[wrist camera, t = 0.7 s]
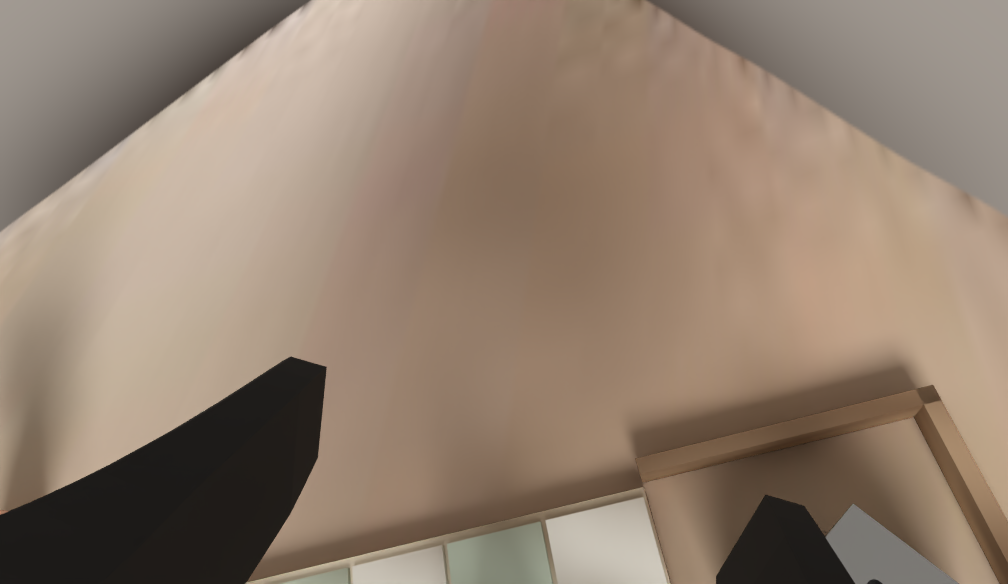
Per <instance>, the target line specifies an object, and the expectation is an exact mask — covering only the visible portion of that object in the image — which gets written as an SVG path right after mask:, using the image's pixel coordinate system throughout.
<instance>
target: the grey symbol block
mask: <svg viewBox="0 0 1008 584" xmlns="http://www.w3.org/2000/svg"><path fill="white" fill-rule="evenodd" d="M825 538H826V539H827V541H828V542H829V544H830V545H831V547H832V548H833V550H834V552H835V553H836V555H837V556H838V558H839V559H840V561H841V562H842V564H843V565H844V567H845V568H846V570H847V571H848V573H849V575H850V576H851V578H852V579H853V581H854V582H855V584H959V583H957V582H956V581H955V580H953V579H952V578H951V577H949V576H948V575H947V574H946V573H944V572H943V571H942V570H940V569H939V568H938V567H936V566H935V565H934V564H932V563H931V562H930V561H928V560H927V559H926V558H924V557H923V556H922V555H920V554H919V553H918V552H916V551H915V550H914V549H913V548H911V547H910V546H909V545H907V544H906V543H905V542H903V541H902V540H901V539H899V538H898V537H897V536H895V535H894V534H893V533H891V532H890V531H889V530H887V529H886V528H885V527H883V526H882V525H881V524H880V523H878V522H877V521H876V520H874V519H873V518H872V517H870V516H869V515H868V514H866V513H865V512H864V511H862V510H861V509H860V508H858V507H857V506H856V505H854V504H852V505H851V507H850V508H849V509H848V510H847V511H846V512H845V514H844V515H843V516H842V517H841V518H840V519H839V520H838V522H837V523H836V524H835V525H834V526H833V527H832V529H831V530H830V531H829V532H828V533H827V535H826V536H825Z"/></svg>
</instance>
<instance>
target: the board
mask: <svg viewBox="0 0 1008 584" xmlns="http://www.w3.org/2000/svg"><path fill="white" fill-rule="evenodd" d="M912 417H914V418H915V420H916V422H917V424H918V426H919V428H920V430H921V432H922V434H923V435H924V437H925V439H926V441H927V443H928V445H929V447H930V449H931V451H932V453H933V455H934V457H935V459H936V461H937V463H938V465H939V466H940V468H941V470H942V472H943V474H944V476H945V478H946V480H947V482H948V484H949V486H950V488H951V490H952V492H953V494H954V496H955V497H956V499H957V501H958V503H959V505H960V507H961V509H962V511H963V513H964V515H965V517H966V519H967V521H968V523H969V525H970V527H971V528H972V530H973V532H974V534H975V536H976V538H977V540H978V542H979V544H980V546H981V548H982V550H983V552H984V554H985V556H986V557H987V559H988V561H989V563H990V565H991V567H992V569H993V571H994V573H995V575H996V577H997V579H998V581H999V583H1000V584H1008V521H1007V519H1006V517H1005V516H1004V514H1003V512H1002V510H1001V508H1000V506H999V505H998V503H997V501H996V499H995V497H994V495H993V494H992V492H991V490H990V488H989V486H988V484H987V483H986V481H985V479H984V477H983V475H982V473H981V472H980V470H979V468H978V466H977V464H976V462H975V461H974V459H973V457H972V455H971V453H970V452H969V450H968V448H967V446H966V444H965V442H964V441H963V439H962V437H961V435H960V433H959V431H958V430H957V428H956V426H955V424H954V422H953V420H952V419H951V417H950V415H949V413H948V411H947V409H946V408H945V406H944V404H943V402H942V400H941V398H940V397H939V395H938V393H937V391H936V389H935V387H934V386H933V385H931V386H926V387H922V388H918V389H914V390H910V391H906V392H902V393H898V394H894V395H890V396H886V397H882V398H878V399H874V400H870V401H866V402H862V403H858V404H854V405H850V406H846V407H842V408H838V409H834V410H829V411H825V412H821V413H817V414H813V415H809V416H805V417H801V418H797V419H793V420H789V421H785V422H781V423H777V424H773V425H769V426H765V427H761V428H757V429H753V430H749V431H745V432H741V433H737V434H732V435H728V436H724V437H720V438H716V439H712V440H708V441H704V442H700V443H696V444H692V445H688V446H684V447H680V448H676V449H672V450H668V451H664V452H660V453H656V454H652V455H648V456H644V457H640V458H635V459H636V463H637V467H638V470H639V474H640V476H641V479H642V482H647V481H651V480H655V479H660V478H664V477H668V476H672V475H676V474H680V473H684V472H689V471H693V470H697V469H701V468H705V467H709V466H713V465H717V464H722V463H726V462H730V461H734V460H738V459H742V458H746V457H751V456H755V455H759V454H763V453H767V452H771V451H775V450H779V449H784V448H788V447H792V446H796V445H800V444H804V443H808V442H813V441H817V440H821V439H825V438H829V437H833V436H837V435H841V434H846V433H850V432H854V431H858V430H862V429H866V428H870V427H875V426H879V425H883V424H887V423H891V422H895V421H899V420H903V419H908V418H912ZM246 584H671V582H670V578H669V575H668V571H667V568H666V564H665V560H664V557H663V553H662V550H661V546H660V543H659V539H658V535H657V532H656V528H655V525H654V521H653V517H652V514H651V510H650V507H649V503H648V499H647V496H646V492H645V490H644V487H641V488H637V489H633V490H628V491H624V492H620V493H616V494H612V495H608V496H603V497H599V498H595V499H591V500H587V501H583V502H579V503H574V504H570V505H566V506H562V507H558V508H554V509H550V510H545V511H541V512H537V513H533V514H529V515H525V516H520V517H516V518H512V519H508V520H504V521H500V522H496V523H491V524H487V525H483V526H479V527H475V528H471V529H467V530H462V531H458V532H454V533H450V534H446V535H442V536H437V537H433V538H429V539H425V540H421V541H417V542H413V543H408V544H404V545H400V546H396V547H392V548H388V549H384V550H379V551H375V552H371V553H367V554H363V555H359V556H354V557H350V558H346V559H342V560H338V561H334V562H330V563H325V564H321V565H317V566H313V567H309V568H305V569H301V570H296V571H292V572H288V573H284V574H280V575H276V576H271V577H267V578H263V579H259V580H255V581H251V582H247V583H246Z"/></svg>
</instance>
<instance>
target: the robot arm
mask: <svg viewBox="0 0 1008 584" xmlns="http://www.w3.org/2000/svg"><path fill="white" fill-rule="evenodd" d="M326 368H327V367H325V366H321V365H318V364H314V363H311V362H307V361H304V360H301V359H297V358H294V357H289V358H287V359H285V360H284V361H282V362H280V363H279V364H277V365H276V366H274V367H273V368H271V369H269V370H268V371H266V372H265V373H263V374H262V375H260V376H259V377H257V378H256V379H254V380H253V381H251V382H249V383H248V384H246V385H245V386H243V387H242V388H240V389H239V390H237V391H235V392H234V393H232V394H231V395H229V396H228V397H226V398H224V399H223V400H221V401H220V402H218V403H217V404H215V405H213V406H212V407H210V408H208V409H207V410H205V411H203V412H202V413H200V414H198V415H197V416H195V417H193V418H192V419H190V420H188V421H187V422H185V423H183V424H182V425H180V426H178V427H177V428H175V429H173V430H172V431H170V432H168V433H166V434H165V435H163V436H161V437H159V438H157V439H156V440H154V441H152V442H150V443H148V444H146V445H145V446H143V447H141V448H139V449H137V450H136V451H134V452H132V453H130V454H128V455H126V456H125V457H123V458H121V459H119V460H117V461H115V462H113V463H112V464H110V465H108V466H106V467H104V468H102V469H100V470H98V471H96V472H94V473H92V474H90V475H88V476H86V477H84V478H82V479H80V480H78V481H75V482H73V483H71V484H69V485H67V486H65V487H63V488H61V489H58V490H56V491H54V492H52V493H50V494H48V495H45V496H43V497H41V498H39V499H37V500H34V501H32V502H30V503H28V504H25V505H23V506H20V507H18V508H16V509H13V510H11V511H8V512H6V513H3V514H1V515H0V584H246V582H247V581H248V579H249V577H250V576H251V574H252V573H253V571H254V570H255V568H256V567H257V565H258V564H259V562H260V560H261V559H262V557H263V556H264V554H265V553H266V551H267V550H268V548H269V546H270V545H271V543H272V542H273V540H274V539H275V537H276V535H277V534H278V532H279V531H280V529H281V528H282V526H283V524H284V523H285V521H286V520H287V518H288V516H289V515H290V513H291V511H292V509H293V507H294V505H295V503H296V501H297V499H298V497H299V495H300V493H301V491H302V489H303V487H304V485H305V483H306V481H307V479H308V477H309V475H310V473H311V471H312V469H313V466H314V464H315V462H316V460H317V458H318V449H319V439H320V429H321V419H322V409H323V398H324V388H325V378H326ZM716 584H855V582H854V581H853V579H852V578H851V576H850V575H849V573H848V571H847V570H846V568H845V567H844V565H843V564H842V562H841V561H840V559H839V558H838V556H837V555H836V553H835V552H834V550H833V548H832V547H831V545H830V544H829V542H828V541H827V539H826V538H825V536H824V535H823V533H822V532H821V530H820V529H819V527H818V526H817V524H816V523H815V521H814V520H813V518H812V517H811V515H810V514H809V512H808V511H807V509H806V508H805V507H804V506H802V505H799V504H796V503H792V502H789V501H785V500H782V499H778V498H775V497H772V496H768V495H765V497H764V498H763V500H762V502H761V503H760V505H759V506H758V508H757V510H756V511H755V513H754V515H753V516H752V518H751V520H750V521H749V523H748V525H747V526H746V528H745V530H744V531H743V533H742V535H741V536H740V538H739V540H738V541H737V543H736V545H735V546H734V548H733V550H732V551H731V553H730V555H729V556H728V558H727V559H726V561H725V563H724V564H723V566H722V568H721V569H720V571H719V573H718V574H717V576H716Z"/></svg>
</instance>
